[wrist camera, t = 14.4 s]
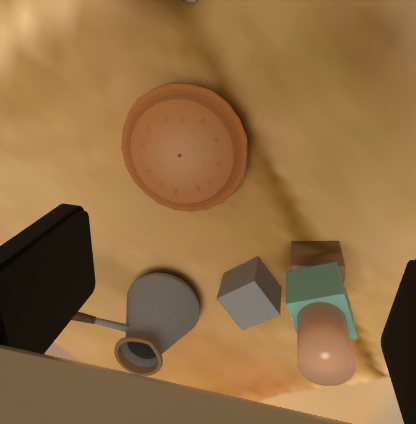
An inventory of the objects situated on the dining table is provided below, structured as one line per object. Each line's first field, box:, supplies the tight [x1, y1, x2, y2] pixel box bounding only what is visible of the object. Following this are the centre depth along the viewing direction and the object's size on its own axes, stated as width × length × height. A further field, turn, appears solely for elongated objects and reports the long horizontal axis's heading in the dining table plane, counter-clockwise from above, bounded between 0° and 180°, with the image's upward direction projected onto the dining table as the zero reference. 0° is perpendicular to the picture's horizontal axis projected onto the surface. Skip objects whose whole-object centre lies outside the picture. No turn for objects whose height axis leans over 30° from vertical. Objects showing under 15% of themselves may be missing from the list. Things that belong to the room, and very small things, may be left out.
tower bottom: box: [292, 241, 345, 282], centre depth 46 cm, size 6×6×6 cm
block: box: [217, 257, 281, 330], centre depth 49 cm, size 6×6×6 cm
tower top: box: [286, 262, 358, 340], centre depth 40 cm, size 6×6×6 cm
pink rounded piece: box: [297, 302, 355, 386], centre depth 35 cm, size 5×5×6 cm
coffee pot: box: [71, 272, 200, 376], centre depth 49 cm, size 21×12×15 cm, turn 58°
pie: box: [122, 83, 247, 211], centre depth 43 cm, size 15×16×5 cm
